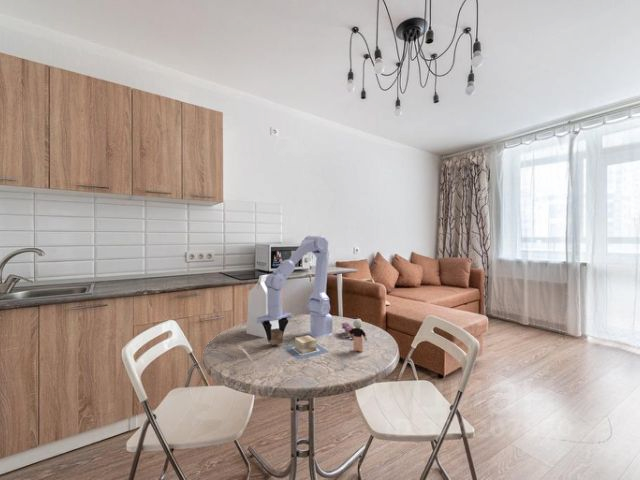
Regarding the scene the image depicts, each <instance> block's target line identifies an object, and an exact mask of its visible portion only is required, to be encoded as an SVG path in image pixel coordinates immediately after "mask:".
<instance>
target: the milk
mask: <svg viewBox="0 0 640 480" xmlns="http://www.w3.org/2000/svg"><path fill="white" fill-rule="evenodd" d="M269 274H270V273H269ZM269 274H264V275H259V277H258V280H257V282H256V284H255V285H254V286H253V287H252V288H251V289H250V290H249V292H248V302H247V319H246V321H247V322H246V334H249V335H251V336H256V337H260V338H264V339H267V335H266V332H265V329H264V327H263V325H262V323H260V324H258V323H257V322H256V318H257V317H261V316H265V315H268V305H267V287H266V285H265V283H264V281H265V280H266V277H267V276H268V275H269ZM269 322H270V324H272V326H271V329H276V328H278V329H279V323H278V320H274V321H269Z"/></svg>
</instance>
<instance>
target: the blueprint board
mask: <svg viewBox="0 0 640 480" xmlns="http://www.w3.org/2000/svg"><path fill="white" fill-rule="evenodd" d="M283 349H284V350H286V351H287V352H288V353H289V354H290V355H291V356H293V357H294V358H295V359H297V360H303V359H305V358H310V357H314V356H318V355H321V354H325V353H326V354H327V353H329V350H327V349H325V348H324V347H322V346H321V345H320V344H318V343H316V351H312V352H308V353H304V354H302V353H300V352H299V351H298V350H297V349H295V344H292V345H287V346H283Z"/></svg>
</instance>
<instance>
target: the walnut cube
mask: <svg viewBox="0 0 640 480" xmlns="http://www.w3.org/2000/svg"><path fill="white" fill-rule="evenodd" d="M283 337H284V334H283V333H282V331H281V330H280V329H278V328H276V329H271V340H268V339H267V342H268V343H269V344H270V345H271V346H274V345H279V344H283V339H284V338H283Z"/></svg>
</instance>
